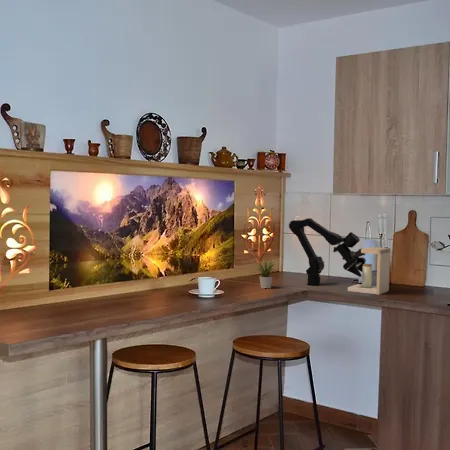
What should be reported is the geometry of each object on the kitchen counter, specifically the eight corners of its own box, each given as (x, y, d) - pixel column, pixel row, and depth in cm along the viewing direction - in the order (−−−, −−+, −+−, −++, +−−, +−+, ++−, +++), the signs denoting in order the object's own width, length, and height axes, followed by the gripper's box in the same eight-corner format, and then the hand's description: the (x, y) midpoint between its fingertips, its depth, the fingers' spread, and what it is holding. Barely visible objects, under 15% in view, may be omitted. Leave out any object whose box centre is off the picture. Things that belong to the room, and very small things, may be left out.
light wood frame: (346, 291, 349) (348, 248, 347) (357, 287, 362) (359, 246, 361) (379, 294, 340) (380, 250, 338) (388, 290, 353) (390, 248, 352)
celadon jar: (363, 291, 349) (364, 264, 348) (360, 289, 354) (361, 263, 353) (372, 291, 349) (373, 264, 348) (369, 289, 354) (370, 263, 353)
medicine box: (361, 284, 375) (362, 269, 375) (367, 283, 378) (367, 268, 377) (372, 286, 369) (373, 270, 368) (378, 285, 372) (378, 270, 371)
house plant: (281, 286, 360) (282, 256, 359) (281, 290, 346) (282, 259, 345) (255, 285, 361) (256, 255, 360) (254, 289, 347) (254, 258, 346)
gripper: (349, 244, 346) (368, 267, 340) (363, 242, 361) (381, 264, 356) (335, 258, 351) (353, 281, 345) (349, 255, 366) (367, 277, 361)
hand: (364, 275), depth 352 cm, fingers open, 9 cm apart
